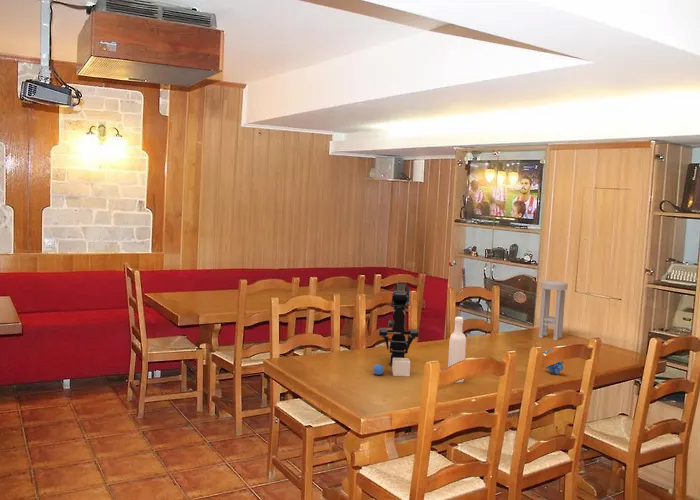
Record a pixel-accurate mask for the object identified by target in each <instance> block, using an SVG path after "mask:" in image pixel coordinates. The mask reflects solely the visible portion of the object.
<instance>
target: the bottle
mask: <svg viewBox="0 0 700 500" xmlns="http://www.w3.org/2000/svg"><path fill="white" fill-rule="evenodd" d="M454 318H455V319H454V331H453V332H452V333H451V335H450V337H449V343H448V345H449V346H448V360H447V368H448V367H449V366H451V365H453V364H455V363H457V362H459V361H462V360H464V359H465V360H466V351H467V349H466V348H467V338H466V335H465V333H464V332H463V326H464V325H463V324H464V317H463V316H456V317H454ZM464 381H465V378H464V379H462V380H459V381H457V382H455V383H457V384H458V383H459V384H460V383H464Z"/></svg>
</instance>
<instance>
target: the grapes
mask: <svg viewBox="0 0 700 500" xmlns="http://www.w3.org/2000/svg"><path fill="white" fill-rule="evenodd" d="M551 350H553V349H552V348H550V349H548V350H545V351H544V352H543V354H544V353H548V352H550V351H551ZM563 364H564V360H563V361H561V362H558V363H556V364H553V365H550V366H548V367H546V368H545V369H548V372H549V373H551V374H556V375H559V374H560V372H562V371H563V370H564V366H563Z"/></svg>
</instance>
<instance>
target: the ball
mask: <svg viewBox="0 0 700 500" xmlns="http://www.w3.org/2000/svg"><path fill="white" fill-rule="evenodd" d="M372 370H373V373H374V374H375V375H376V376H379V375H382V374H383V373H384V372H385V370H384V366H383V365H382V364H379V363H378V364H375V365H374V366H373V367H372Z"/></svg>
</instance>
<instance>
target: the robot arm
mask: <svg viewBox="0 0 700 500" xmlns="http://www.w3.org/2000/svg"><path fill="white" fill-rule="evenodd" d="M410 291H411V288H410V287H409V286H408V285H407V283H406V282H396V285H394V286H393V292H392V294H391V305H390V307H391V308H393V309H392V310H393V312H392V320H391V319H390V320H388V328H391V329H388V328H387V327H379V328H378V331H377V332H378V336H379V337H381V338H383V339H384V341H385V346H386V349H387V351H389V353H390V357H389V363H390V365H391V366H392V362H393V358H405V355H406V354H409V349H410V346H411V343H412V342H413V340H415V339H416V338H419V331H418V329H417V328H409V329H408V330H405V329H406V328H405V325H406V309H407V308H409V306H410ZM388 335H392V336H391V340H390V341H389V336H388ZM405 335H406V336H407V338H406V336H405ZM406 339H407V341H406Z"/></svg>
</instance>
